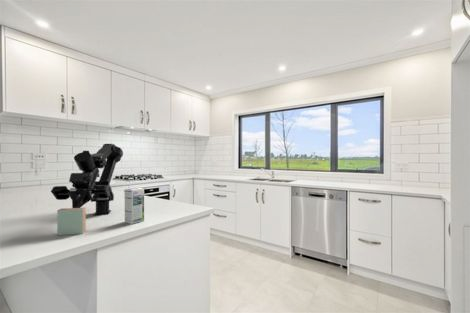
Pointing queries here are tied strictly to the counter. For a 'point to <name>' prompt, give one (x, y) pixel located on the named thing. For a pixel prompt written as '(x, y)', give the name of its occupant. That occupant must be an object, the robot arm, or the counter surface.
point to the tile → (71, 221)
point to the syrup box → (134, 205)
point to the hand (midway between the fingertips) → (73, 210)
